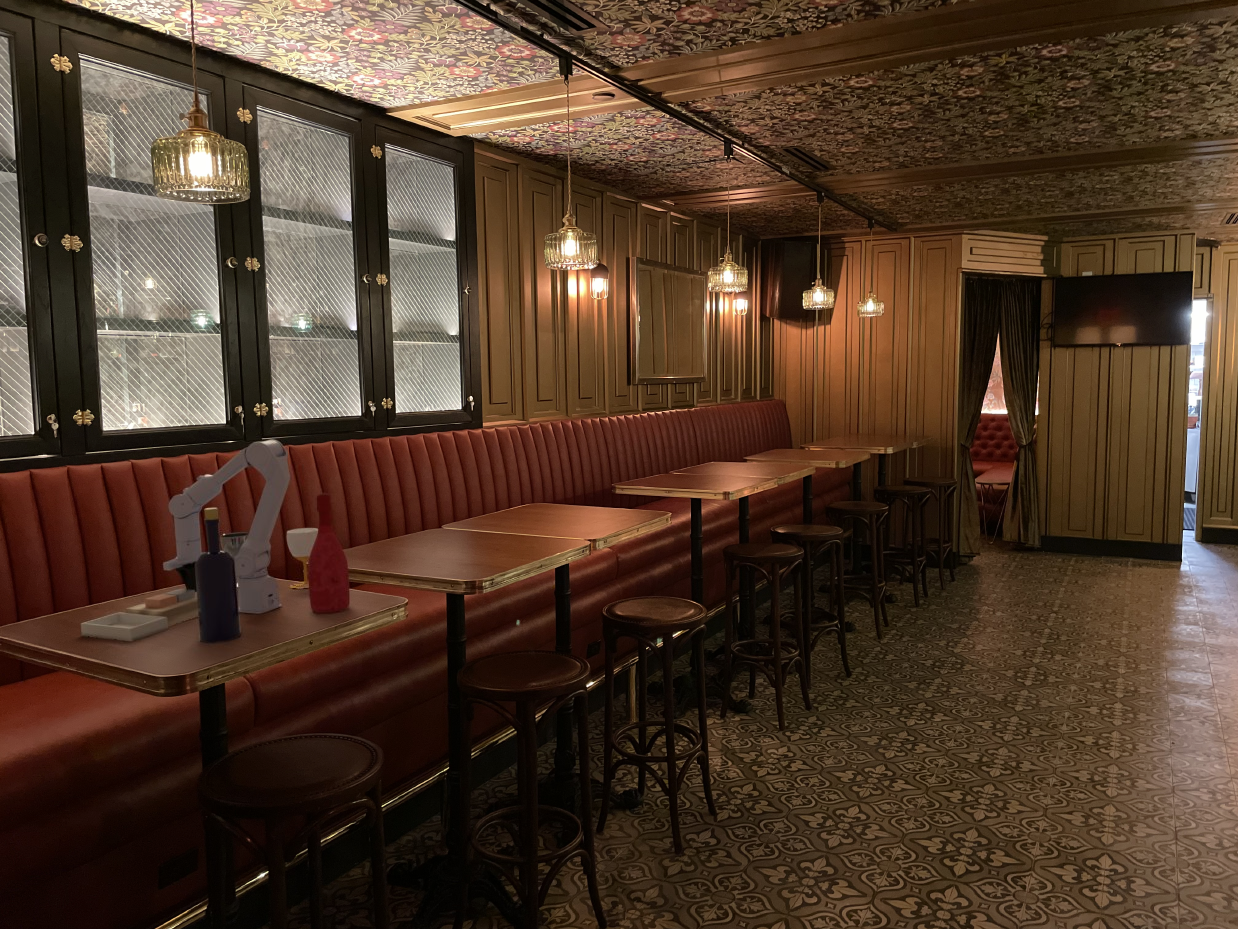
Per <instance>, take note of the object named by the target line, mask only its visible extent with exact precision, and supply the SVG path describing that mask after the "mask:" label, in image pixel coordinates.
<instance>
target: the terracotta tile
mask: <svg viewBox="0 0 1238 929" xmlns="http://www.w3.org/2000/svg"><path fill="white" fill-rule="evenodd" d="M144 603H145V607H153V608H163V607H166V606H169V605H172V604H176V603H177V595H169V594H164V593H160V594H156V595H153V596H151V597H145V598H144Z"/></svg>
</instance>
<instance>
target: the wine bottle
mask: <svg viewBox="0 0 1238 929" xmlns="http://www.w3.org/2000/svg"><path fill="white" fill-rule="evenodd" d="M316 512H317V513H318V527H317V529H318V534H317V537H316V540H315V542H314V545H313V547H312V550H311V553H310V557H309V560H308V561H307V562H308V563H307V581H308V585H309V589H308V593H309V594H308V595H309V602H310V603H309V604H310V610H311V611H312V612H314V613H316V614H333V613H338V612H342V611H345V610H346V609H348V608H349V607H350V602H351V600H350V578H349V576H350V575H349V564H348V560H347V557H346V554H345V552H344V549H343V547H342V546H341V543H340V542H339V539H338V538H337V536H336V534H335V532H334V529H333V526H332V521H331V512H332V506H331V496H330V494H329V493H327V492H322V493H318V494H317V495H316Z"/></svg>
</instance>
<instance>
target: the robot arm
mask: <svg viewBox="0 0 1238 929" xmlns="http://www.w3.org/2000/svg"><path fill="white" fill-rule="evenodd" d="M288 457H289V453H288V451H287V449H286V447H284V445H283V443H281V442H280V441H279V440H277V439H273V438H272V439H267V440H264V441H254V442H252V443H251V444H249V445H248V447H245V448H243V449H241V450H240V451H239V452H238V453H236V455H235V456H233V457H232V458H231V459H230V460H229V461H227V462H226V463H225V464H224V465H223V466H222V467H220V468H219V469H218V470H217V471H216V472H215V473H213V474H212V475H211V474H204V475H199V476H198V477H196V480H197V481H195V482H194V483H193V484H191V485H190V486H189V487H185V488H184V489H183V490H182V492H183V493H182V494H176V495H174V496H173V497H172V498H171V499H170V500H169V502H168V510H169V512H170V514H171V515H172V516H173V521H174V534H175V536H174V537H175V545H176V547H175V548H176V556H175V558H173V559H170V560H168V561H165V562H162V563H163V564H162V566H163V571H173V570H174V569H175V571H176V572H177V573H178V575H179V577H180V578H181V579H182V581H183V583H184V586H185V589H189V590H195V593H197V589H196V576H195V563H196V561H197V560H198V558H199V557H200V555H201V554H202V553H205V552H206V551H204V552H202V541H201V540H202V539H201V526H200V512H201V510H202V509H203V508H204V507H203V506H205V505H206V504H208V503H209V502H210V501H211V500H213V499H214V498H216V496H218V495H219V494H221V493H222V491H223V484H226V482H228V481H229V480H231V479H232V478H233V477H235V476H236V475H238V473H240V472H242V471H243V470H244V469H245V468H249V467H253V468H254V469H255V470H257V471H258V472H259V473H260V474H261V475H262V477H263V479H265V484H264V488H263V490H262V494H261V497H260V500H259V502H258V506H257V508H256V512H255V514H254V518H253V520H252V524H251V527H250V529H249V535H248V538H247V540H246V541H245V542H244V544H243V545H242V546H241V548H240V551H239V553H238V554H237V555H236V556H235V557H234V558H235V566H236V579H237V581H238V588H237V592H238V605H239V613H246V614H254V615H255V614H258V615H260V614H264V613H268V612H270V611H272V610H275V609H277V608H281V607H282V606H283V604H281V603H280V594H279V592H280V591H279V583H278V581H277V579H276V578H275V577H273V576H270V575H269V573H268V568H267V567H269V565H270V562H271V548H272V545H271V542H270V540H271V536H272V534H273V532H274V528H275V525H276V522H277V519H278V516H279V514H280V510H281V507H282V504H283V503H284V502H283V501H284V498H285V496H286V493H287V490H288V487H289V484H290V481H291V474H290V468H289V464H288V463H289V462H288Z"/></svg>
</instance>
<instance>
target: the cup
mask: <svg viewBox="0 0 1238 929" xmlns="http://www.w3.org/2000/svg"><path fill="white" fill-rule="evenodd" d="M317 534H318V528H315V527H303V528H302V527H301V528H293V529H290V530H287V531H286V542H287V547H288V549H289V552H290V553H291V555H292V557H294V559H296V560H298V561H300V562H302V565H303V577H304V578H303V580H304V581H299V582H298V583H303V584H308V564H307V562H308V561H309V557H310V553H311V550H312V547H313V545H314V542H315V540H316V537H317ZM293 584H294V585H296V586H299V585H300V586H301V585H303V584H295V583H293ZM296 586H293V585H292V584H291V585H289V588H290V589H292V588H298V589H297V590H300V589H299V588H304V587H296ZM306 588H307V587H306ZM308 588H309V585H308Z"/></svg>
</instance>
